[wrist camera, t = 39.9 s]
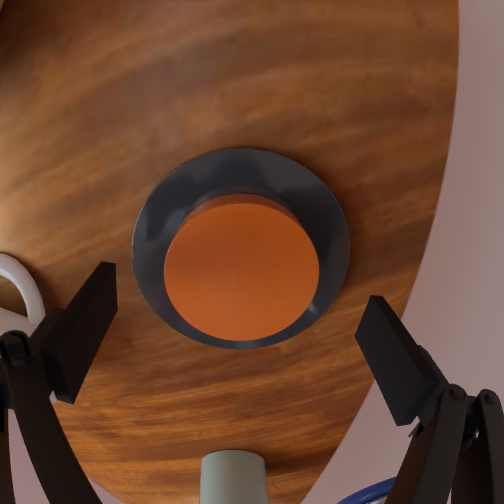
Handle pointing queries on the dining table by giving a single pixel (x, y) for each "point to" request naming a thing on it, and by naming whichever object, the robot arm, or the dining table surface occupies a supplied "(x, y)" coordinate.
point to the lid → (241, 268)
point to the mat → (244, 182)
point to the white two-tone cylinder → (9, 320)
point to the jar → (233, 478)
